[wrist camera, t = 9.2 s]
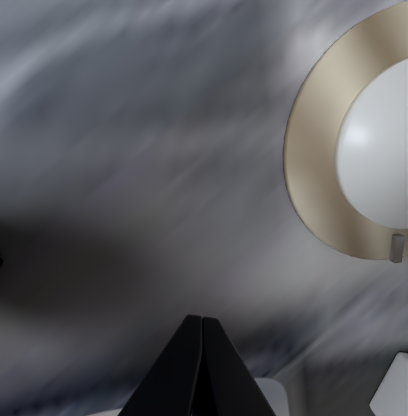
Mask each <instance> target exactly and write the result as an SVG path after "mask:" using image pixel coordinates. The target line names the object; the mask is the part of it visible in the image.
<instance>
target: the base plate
mask: <svg viewBox="0 0 408 416" xmlns="http://www.w3.org/2000/svg"><path fill="white" fill-rule="evenodd" d="M406 58H408V1H406V2H402V3H398V4H396V5H393V6H391V7H389V8H386V9H384V10H382V11H379V12H377V13H376V14H374V15H372V16H370V17H368V18H367V19H365V20H363V21H362V22H360V23H358V24H357V25H355V26H353V27H352V28H351V29H350V30H348V31H347V32H346V33H345V34H343V35H342V36H341V37H339V38H338V39H337V40H336V41H335V42H334V43H333V44H332V45H331V46H330V47H329V48H328V49H327V50H326V51H325V52H324V54H323V55H322V56H321V57H320V59H319V60H318V61H317V62H316V64H315V65H314V66H313V68H312V69H311V71H310V72H309V74H308V76H307V77H306V79H305V80H304V82H303V84H302V86H301V88H300V90H299V92H298V94H297V96H296V98H295V100H294V103H293V106H292V109H291V112H290V115H289V118H288V121H287V126H286V131H285V136H284V145H283V172H284V178H285V184H286V188H287V191H288V194H289V198H290V200H291V203H292V205H293V207H294V209H295V211H296V213H297V214H298V216H299V217H300V219H301V220H302V222H303V223H304V224H305V225H306V227H307V228H308V229H309V230H310V231H311V232H312V233H313V234H314V235H316V236H317V237H318V238H319V239H321V240H322V241H323V242H324V243H326V244H327V245H328V246H330V247H332V248H334V249H336V250H337V251H339V252H342V253H344V254H347V255H350V256H353V257H357V258H362V259H371V260H386V259H389V260H390V261H392V262H394V263H399V262H402V257H405V256H408V229H397V228H390V227H386V226H382V225H380V224H378V223H375V222H373V221H371V220H369V219H367V218H365V217H363V216H362V215H360V214H359V213H357V212H356V211H355V210H354V209H353V208H352V207H350V205H349V204H348V203H347V202H346V200H345V199H344V197H343V195H342V194H341V192H340V189H339V187H338V184H337V181H336V176H335V171H334V149H335V142H336V138H337V134H338V130H339V127H340V125H341V122H342V120H343V117H344V115H345V113H346V112H347V110H348V108H349V106H350V104H351V103H352V101H353V100H354V99H355V97H356V96H357V94H358V93H359V92H360V91H361V90H362V88H363V87H364V86H365V85H366V84H367V83H368V82H369V81H370V80H371V79H372V78H373V77H375V76H376V75H377V74H379V73H380V72H381V71H383V70H384V69H385V68H387V67H389V66H391V65H392V64H394V63H396V62H399V61H401V60H403V59H406Z"/></svg>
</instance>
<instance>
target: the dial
mask: <svg viewBox="0 0 408 416" xmlns="http://www.w3.org/2000/svg"><path fill="white" fill-rule="evenodd" d="M334 171H335V176H336V181H337V184H338V187H339V189H340V192H341V194H342V195H343V197H344V199H345V200H346V202H347V203H348V204H349V205H350V207H352V208H353V209H354V210H355V211H356V212H357V213H359V214H360V215H362V216H363V217H365V218H367V219H369V220H371V221H373V222H375V223H378V224H380V225H382V226H386V227H390V228H397V229H408V58H406V59H403V60H401V61H399V62H396V63H394V64H392V65H391V66H389V67H387V68H385V69H384V70H383V71H381V72H380V73H379V74H377V75H376V76H375V77H373V78H372V79H371V80H370V81H369V82H368V83H367V84H366V85H365V86H364V87H363V88H362V90H361V91H360V92H359V93H358V94H357V96H356V97H355V99H354V100H353V101H352V103H351V104H350V106H349V108H348V110H347V112H346V113H345V115H344V117H343V120H342V122H341V125H340V127H339V130H338V134H337V138H336V142H335V149H334Z"/></svg>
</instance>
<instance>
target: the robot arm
mask: <svg viewBox="0 0 408 416" xmlns="http://www.w3.org/2000/svg"><path fill="white" fill-rule="evenodd" d="M2 264H3V261H2V259H1V258H0V267H1V266H2ZM118 416H276V415H275V413H274V411H273V410H272V408H271V406H270V405H269V403H268V401H267V400H266V398H265V396H264V395H263V393H262V391H261V390H260V388H259V386H258V385H257V383H256V381H255V380H254V378H253V376H252V375H251V373H250V371H249V370H248V368H247V366H246V365H245V363H244V361H243V360H242V358H241V356H240V355H239V353H238V351H237V350H236V348H235V346H234V345H233V343H232V342H231V340H230V338H229V337H228V335H227V333H226V332H225V330H224V328H223V327H222V325H221V323H220V322H219V320H218V319H217V318H211V317H203V319H202V317H201V316H198V315H191V314H188V315H187V316H186V317H185V319H184V320H183V321H182V323H181V324H180V326H179V327H178V329H177V330H176V332H175V333H174V335H173V336H172V337H171V339H170V340H169V342H168V343H167V345H166V346H165V348H164V349H163V351H162V352H161V353H160V355H159V356H158V358H157V359H156V361H155V362H154V364H153V365H152V367H151V368H150V369H149V371H148V372H147V374H146V375H145V377H144V378H143V380H142V381H141V383H140V384H139V385H138V387H137V388H136V390H135V391H134V393H133V394H132V396H131V397H130V398H129V400H128V401H127V403H126V404H125V406H124V407H123V409H122V410H121V412H120V413H119V415H118Z"/></svg>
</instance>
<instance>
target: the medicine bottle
mask: <svg viewBox="0 0 408 416" xmlns="http://www.w3.org/2000/svg"><path fill="white" fill-rule="evenodd" d="M369 406H370V408H371V410H372V411H373V412H374V414H375V415H376V416H408V353H403V352H399V353H397V355H396V357H395V359H394V360H393V362H392V364H391V366H390V368H389V369H388V371H387V373H386V375H385V377H384V378H383V380H382V382H381V384H380V386H379V387H378V389H377V391H376V393H375V395H374V396H373V398H372V400H371V402H370V405H369Z"/></svg>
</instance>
